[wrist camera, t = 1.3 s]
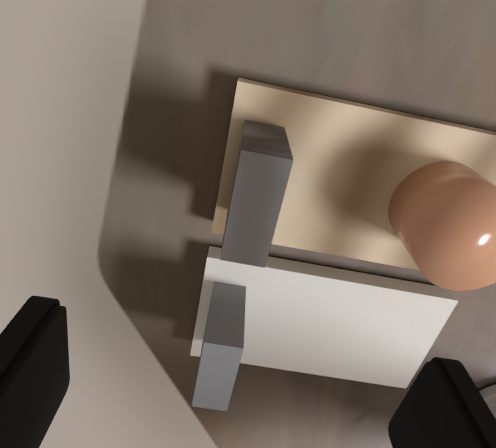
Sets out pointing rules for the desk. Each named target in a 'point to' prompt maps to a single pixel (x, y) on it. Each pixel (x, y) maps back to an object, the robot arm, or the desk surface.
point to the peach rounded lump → (448, 224)
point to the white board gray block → (310, 324)
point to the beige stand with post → (327, 173)
